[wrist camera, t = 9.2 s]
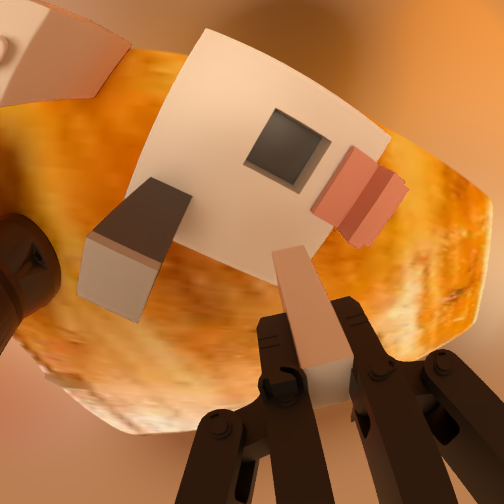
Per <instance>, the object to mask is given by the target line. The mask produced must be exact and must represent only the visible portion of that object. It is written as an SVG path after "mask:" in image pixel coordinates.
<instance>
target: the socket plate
mask: <svg viewBox="0 0 504 504" xmlns="http://www.w3.org/2000/svg"><path fill="white" fill-rule="evenodd" d="M391 138H392V137H391V136H389V135H388V134H387V133H386V132H385V131H383V130H382V129H381V128H380V127H378V126H377V125H376V124H375V123H373V122H372V121H371V120H369V119H368V118H367V117H366V116H364V115H363V114H362V113H360V112H359V111H358V110H356V109H355V108H353V107H352V106H351V105H349V104H348V103H346V102H345V101H344V100H342V99H341V98H339V97H338V96H336V95H335V94H333V93H332V92H330V91H328V90H327V89H326V88H324V87H322V86H321V85H319V84H318V83H316V82H315V81H313V80H311V79H310V78H308V77H306V76H305V75H303V74H301V73H300V72H298V71H296V70H294V69H293V68H291V67H289V66H287V65H285V64H284V63H282V62H280V61H278V60H276V59H274V58H272V57H270V56H268V55H266V54H264V53H262V52H260V51H258V50H256V49H254V48H252V47H250V46H248V45H246V44H243V43H241V42H239V41H237V40H234V39H232V38H229V37H227V36H225V35H222V34H220V33H217V32H215V31H212V30H210V29H207V28H206V29H205V31H204V32H203V34H202V35H201V37H200V39H199V40H198V42H197V44H196V45H195V47H194V48H193V50H192V52H191V53H190V55H189V57H188V58H187V60H186V62H185V64H184V65H183V67H182V69H181V71H180V72H179V74H178V76H177V78H176V80H175V82H174V84H173V86H172V87H171V89H170V91H169V93H168V95H167V97H166V99H165V101H164V103H163V105H162V107H161V109H160V112H159V114H158V116H157V118H156V120H155V122H154V124H153V127H152V129H151V131H150V133H149V136H148V138H147V140H146V143H145V145H144V148H143V150H142V152H141V155H140V157H139V160H138V162H137V165H136V168H135V170H134V173H133V176H132V178H131V181H130V184H129V187H128V189H127V192H126V195H125V198H124V200H125V199H126V198H127V197H128V196H129V195H130V194H131V193H132V192H134V191H135V190H136V189H137V188H138V187H139V186H140V185H141V184H143V183H144V182H145V181H146V180H147V179H148V178H150V177H152V178H154V179H157V180H159V181H161V182H163V183H165V184H168V185H170V186H172V187H174V188H176V189H179V190H181V191H183V192H185V193H187V194H189V195H192V196H193V197H192V199H191V201H190V203H189V205H188V207H187V210H186V212H185V214H184V216H183V218H182V221H181V223H180V225H179V227H178V229H177V232H176V234H175V236H174V238H173V241H174V242H176V243H178V244H181V245H183V246H185V247H187V248H190V249H192V250H194V251H196V252H199V253H201V254H203V255H205V256H208V257H210V258H212V259H214V260H217V261H219V262H221V263H224V264H226V265H228V266H230V267H233V268H235V269H237V270H240V271H242V272H244V273H247V274H249V275H251V276H254V277H256V278H258V279H261V280H263V281H265V282H268V283H270V284H272V285H275V286H277V287H278V283H277V278H276V273H275V268H274V263H273V258H272V253H271V252H272V251H277V250H281V249H286V248H290V247H295V246H299V245H304V247H305V249H306V251H307V253H308V255H309V257H310V260H311V259H312V258H313V256H314V255H315V253H316V252H317V250H318V249H319V248H320V246H321V245H322V243H323V242H324V241H325V239H326V238H327V236H328V235H329V233H330V232H331V231H332V229H333V228H334V226H332V225H331V224H329V223H327V222H325V221H324V220H322V219H320V218H318V217H317V216H315V215H313V214H312V212H311V211H310V210H311V209H312V207H313V206H314V204H315V203H316V201H317V199H318V198H319V196H320V195H321V193H322V192H323V190H324V189H325V187H326V185H327V184H328V182H329V181H330V179H331V178H332V176H333V174H334V173H335V171H336V170H337V168H338V167H339V165H340V163H341V162H342V160H343V159H344V157H345V155H346V154H347V152H348V151H349V149H350V147H351V146H354V147H356V148H358V149H359V150H361V151H362V152H363V153H365V154H366V155H367V156H369V157H370V158H371V159H373V160H374V161H375V162H377V161H378V159H379V158H380V156H381V154H382V153H383V151H384V150H385V148H386V146H387V145H388V143H389V141H390V140H391Z"/></svg>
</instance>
